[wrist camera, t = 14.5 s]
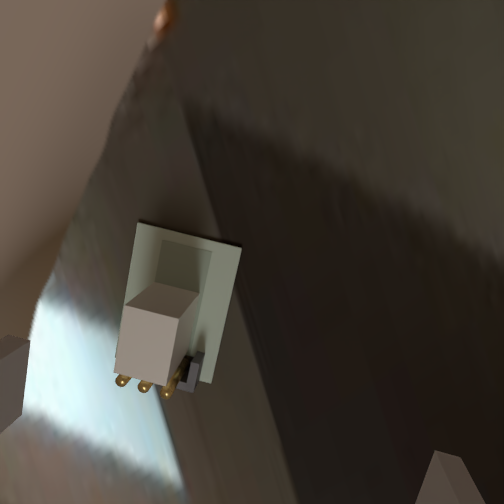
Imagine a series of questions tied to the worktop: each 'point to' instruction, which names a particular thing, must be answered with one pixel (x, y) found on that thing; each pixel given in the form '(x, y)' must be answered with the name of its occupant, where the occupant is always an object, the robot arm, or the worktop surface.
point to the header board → (188, 287)
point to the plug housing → (155, 333)
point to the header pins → (166, 390)
